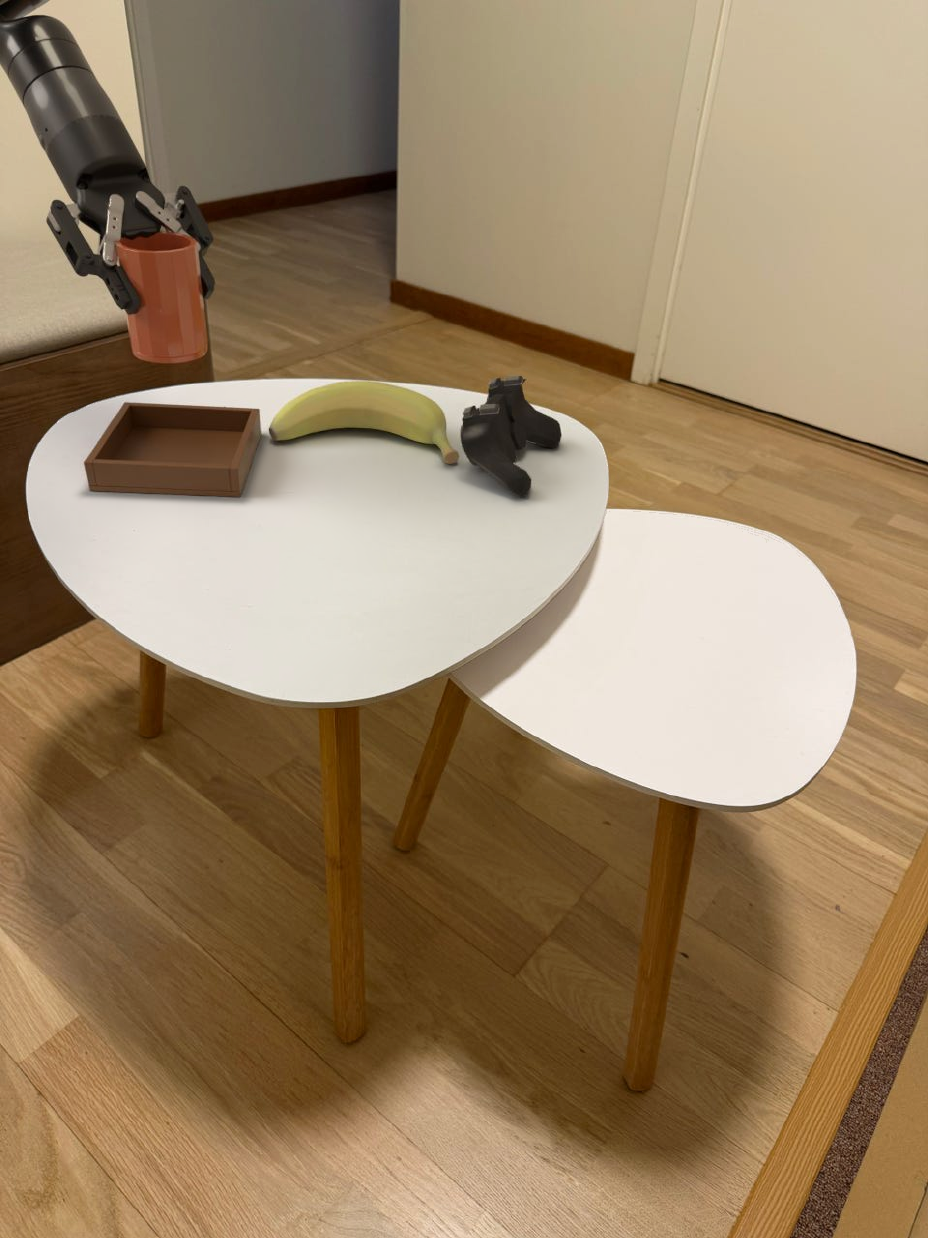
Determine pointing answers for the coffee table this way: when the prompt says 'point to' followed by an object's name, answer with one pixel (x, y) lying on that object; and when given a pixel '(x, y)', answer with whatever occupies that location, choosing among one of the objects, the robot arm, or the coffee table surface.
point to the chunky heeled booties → (506, 433)
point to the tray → (175, 450)
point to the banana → (365, 413)
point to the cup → (165, 297)
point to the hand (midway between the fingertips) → (172, 302)
